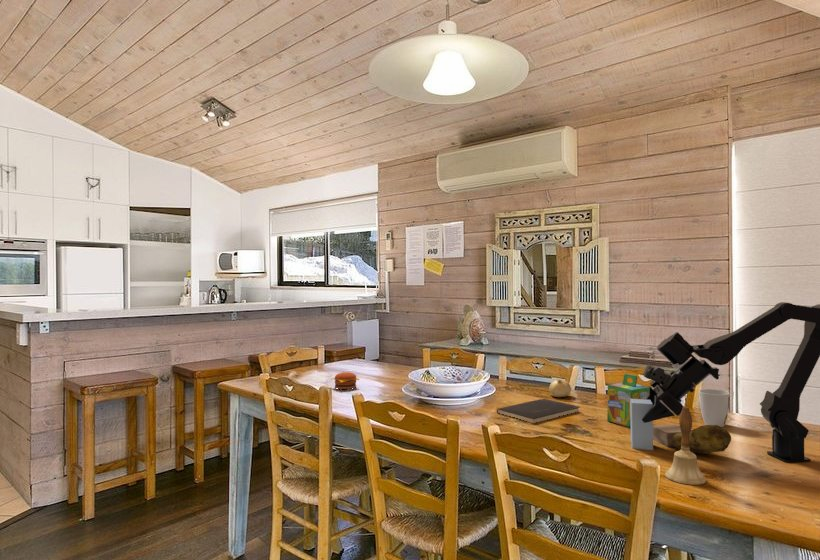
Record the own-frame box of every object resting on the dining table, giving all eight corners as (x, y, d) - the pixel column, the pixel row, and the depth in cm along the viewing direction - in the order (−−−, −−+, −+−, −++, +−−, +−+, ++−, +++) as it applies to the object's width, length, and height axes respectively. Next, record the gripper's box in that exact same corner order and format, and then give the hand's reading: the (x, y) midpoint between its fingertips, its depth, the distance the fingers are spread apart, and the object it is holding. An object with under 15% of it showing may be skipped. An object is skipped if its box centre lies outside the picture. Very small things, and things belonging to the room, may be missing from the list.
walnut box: (691, 446, 140) (691, 431, 140) (667, 448, 139) (667, 432, 139) (675, 438, 147) (674, 424, 147) (651, 440, 146) (651, 425, 146)
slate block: (650, 444, 141) (650, 399, 141) (653, 450, 137) (652, 404, 137) (630, 442, 143) (630, 398, 143) (632, 448, 138) (631, 402, 138)
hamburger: (342, 391, 214) (342, 375, 214) (330, 388, 221) (329, 372, 221) (361, 388, 220) (361, 372, 220) (349, 384, 227) (348, 369, 227)
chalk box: (606, 421, 164) (605, 374, 164) (625, 417, 168) (625, 371, 168) (632, 428, 156) (631, 379, 156) (651, 424, 160) (651, 375, 160)
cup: (734, 429, 153) (734, 395, 153) (704, 428, 155) (704, 394, 155) (724, 421, 161) (723, 389, 161) (695, 420, 163) (694, 388, 163)
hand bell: (692, 470, 122) (691, 402, 122) (715, 484, 114) (713, 411, 114) (657, 471, 122) (656, 403, 122) (677, 485, 113) (676, 412, 113)
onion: (545, 395, 202) (545, 376, 202) (565, 393, 203) (564, 375, 203) (555, 399, 194) (554, 380, 194) (575, 398, 195) (574, 379, 195)
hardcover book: (579, 413, 176) (579, 406, 176) (533, 425, 163) (533, 418, 163) (542, 404, 189) (542, 398, 189) (496, 414, 176) (496, 408, 176)
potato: (689, 444, 140) (688, 415, 140) (737, 459, 129) (736, 427, 129) (668, 449, 137) (667, 419, 137) (715, 465, 125) (714, 431, 125)
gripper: (657, 350, 147) (615, 387, 150) (668, 360, 129) (620, 402, 133) (689, 379, 144) (646, 416, 148) (704, 394, 127) (654, 435, 130)
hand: (641, 416), depth 140 cm, fingers open, 9 cm apart
